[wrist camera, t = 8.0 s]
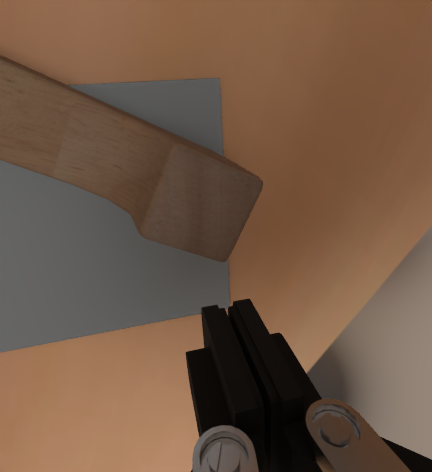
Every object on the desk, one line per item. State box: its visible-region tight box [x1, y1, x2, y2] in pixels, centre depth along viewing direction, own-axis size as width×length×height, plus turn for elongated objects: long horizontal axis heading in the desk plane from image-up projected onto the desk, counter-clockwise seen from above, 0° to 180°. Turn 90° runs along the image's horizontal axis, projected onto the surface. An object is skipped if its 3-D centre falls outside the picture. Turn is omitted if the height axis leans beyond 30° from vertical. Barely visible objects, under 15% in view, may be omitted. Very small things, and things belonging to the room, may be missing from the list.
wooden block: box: [0, 56, 263, 262], centre depth 16 cm, size 9×4×18 cm
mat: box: [0, 78, 230, 352], centre depth 22 cm, size 20×18×1 cm
